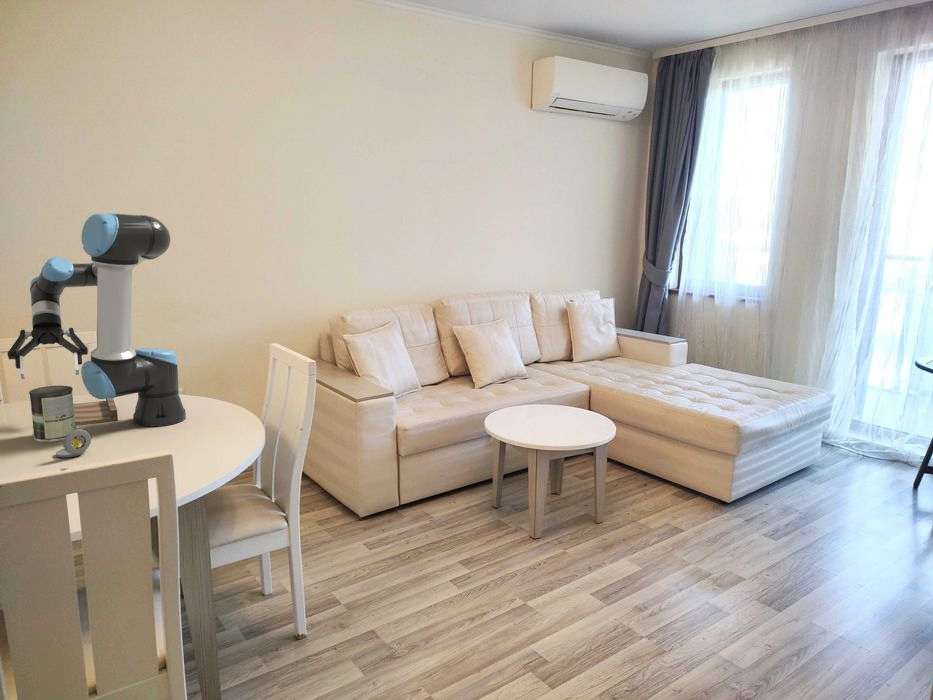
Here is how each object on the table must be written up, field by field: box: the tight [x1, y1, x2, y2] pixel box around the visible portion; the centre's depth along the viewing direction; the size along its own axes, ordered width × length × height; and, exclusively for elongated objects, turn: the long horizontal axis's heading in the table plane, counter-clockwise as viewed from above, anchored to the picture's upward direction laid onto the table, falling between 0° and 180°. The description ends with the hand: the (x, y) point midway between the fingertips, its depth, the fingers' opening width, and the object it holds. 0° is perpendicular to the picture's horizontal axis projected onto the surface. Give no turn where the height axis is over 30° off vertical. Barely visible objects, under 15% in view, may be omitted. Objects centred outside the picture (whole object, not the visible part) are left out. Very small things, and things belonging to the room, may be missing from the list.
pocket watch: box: [55, 421, 92, 458], centre depth 161 cm, size 8×8×10 cm
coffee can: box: [28, 385, 75, 443], centre depth 174 cm, size 10×10×14 cm
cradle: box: [73, 398, 119, 426], centre depth 197 cm, size 24×17×4 cm
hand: (50, 374), depth 182 cm, fingers open, 13 cm apart
